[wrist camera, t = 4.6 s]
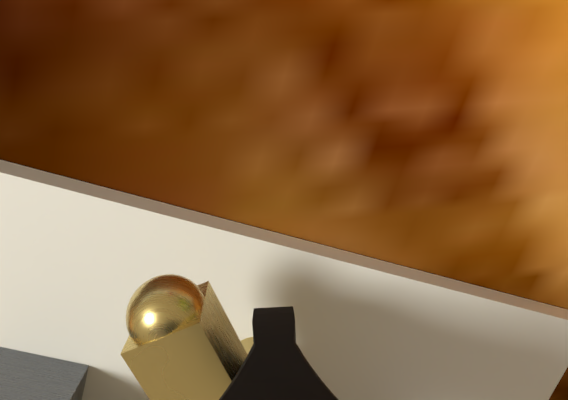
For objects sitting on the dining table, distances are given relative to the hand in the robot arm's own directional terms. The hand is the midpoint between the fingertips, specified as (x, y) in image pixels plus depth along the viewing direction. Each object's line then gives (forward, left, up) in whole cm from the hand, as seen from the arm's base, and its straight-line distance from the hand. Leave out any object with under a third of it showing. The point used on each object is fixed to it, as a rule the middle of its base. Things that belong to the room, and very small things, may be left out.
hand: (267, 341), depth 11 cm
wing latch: (+1, +1, 0) cm, 2 cm away
